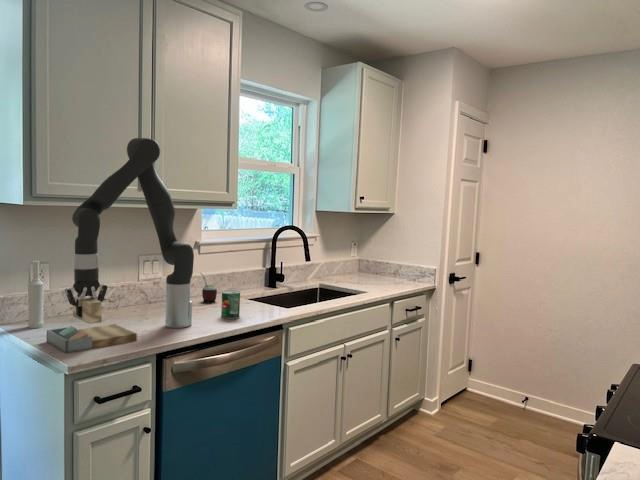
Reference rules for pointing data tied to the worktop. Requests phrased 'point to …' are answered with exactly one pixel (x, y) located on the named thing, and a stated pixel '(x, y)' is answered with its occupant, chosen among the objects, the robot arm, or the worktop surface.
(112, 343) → the board
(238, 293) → the canned tomato
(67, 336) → the tile
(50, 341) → the box
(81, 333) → the tile
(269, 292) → the worktop surface
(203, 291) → the mate gourd
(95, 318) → the cream wooden beam
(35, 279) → the bottle
